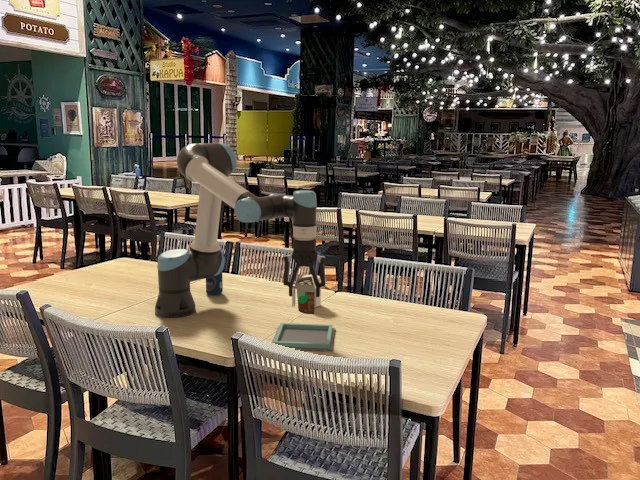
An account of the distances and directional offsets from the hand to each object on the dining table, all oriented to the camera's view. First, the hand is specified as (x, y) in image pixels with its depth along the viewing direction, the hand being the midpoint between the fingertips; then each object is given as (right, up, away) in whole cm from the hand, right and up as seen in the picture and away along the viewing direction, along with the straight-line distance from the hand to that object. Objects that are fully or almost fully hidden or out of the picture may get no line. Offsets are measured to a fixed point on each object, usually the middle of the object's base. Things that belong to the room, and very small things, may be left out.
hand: (304, 305), depth 190 cm
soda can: (-40, -1, +51) cm, 65 cm away
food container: (0, -2, 0) cm, 2 cm away
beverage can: (+1, -5, +38) cm, 38 cm away
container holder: (0, -11, +2) cm, 12 cm away
